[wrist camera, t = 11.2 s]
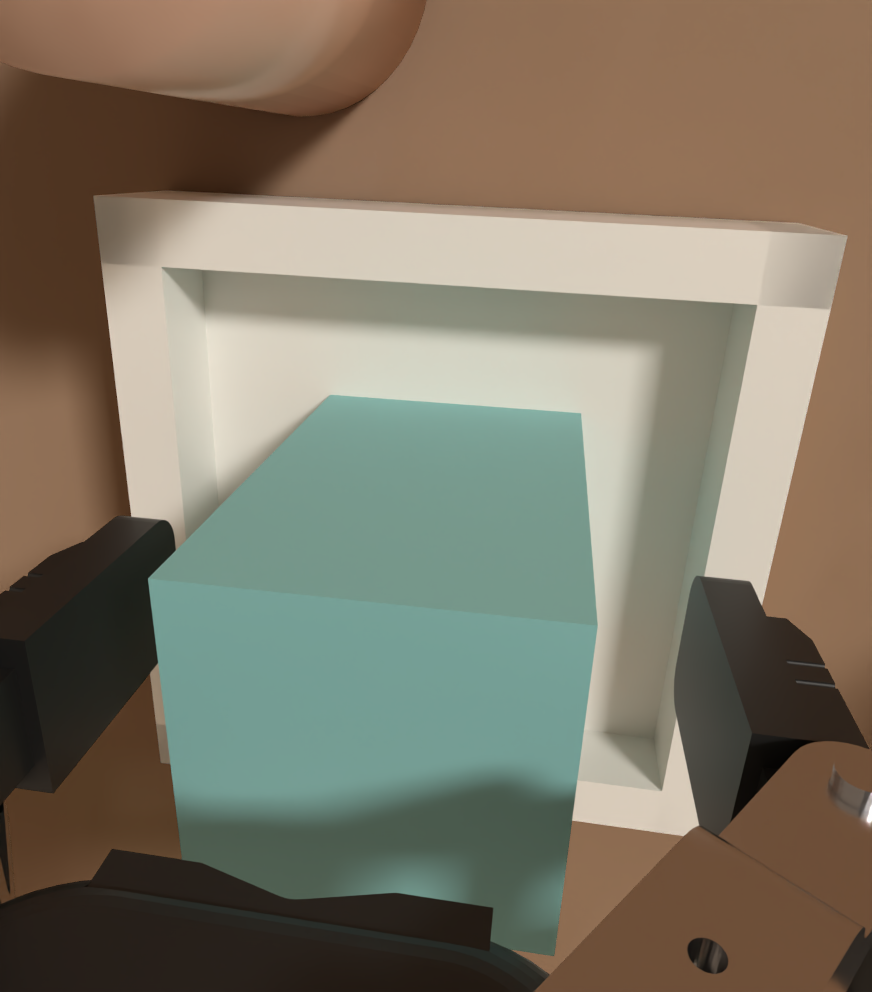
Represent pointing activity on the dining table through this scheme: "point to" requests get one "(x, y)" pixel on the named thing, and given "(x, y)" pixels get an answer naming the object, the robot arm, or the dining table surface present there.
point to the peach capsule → (217, 47)
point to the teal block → (389, 661)
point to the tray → (493, 391)
